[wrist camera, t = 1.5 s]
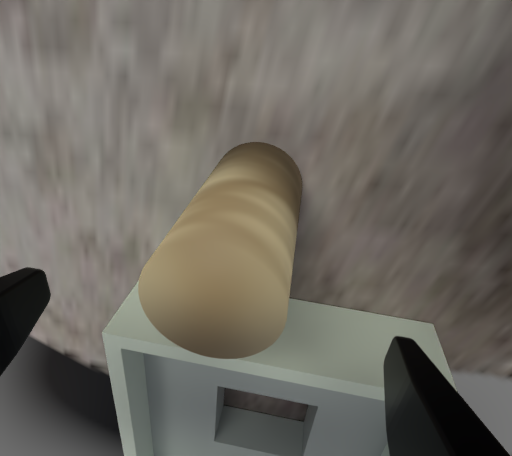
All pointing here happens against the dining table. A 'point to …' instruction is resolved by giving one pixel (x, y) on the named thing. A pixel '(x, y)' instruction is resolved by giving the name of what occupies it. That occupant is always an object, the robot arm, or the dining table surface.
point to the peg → (229, 258)
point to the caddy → (259, 385)
